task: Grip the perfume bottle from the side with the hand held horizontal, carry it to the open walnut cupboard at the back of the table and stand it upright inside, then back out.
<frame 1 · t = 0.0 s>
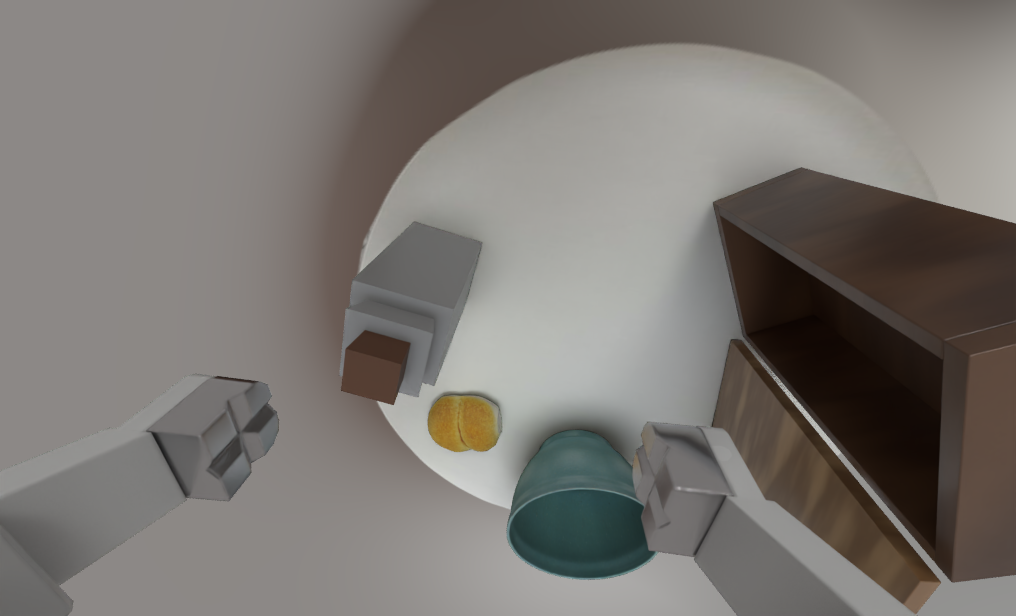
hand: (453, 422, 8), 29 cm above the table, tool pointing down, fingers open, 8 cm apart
cupboard door: (809, 485, 33), point 11 cm above the table, hinge at 160.0°
bread roll: (468, 414, 48), on the table
flower pot: (575, 453, 50), on the table
perfume bottle: (441, 262, 39), on the table
cupboard: (769, 261, 36), on the table
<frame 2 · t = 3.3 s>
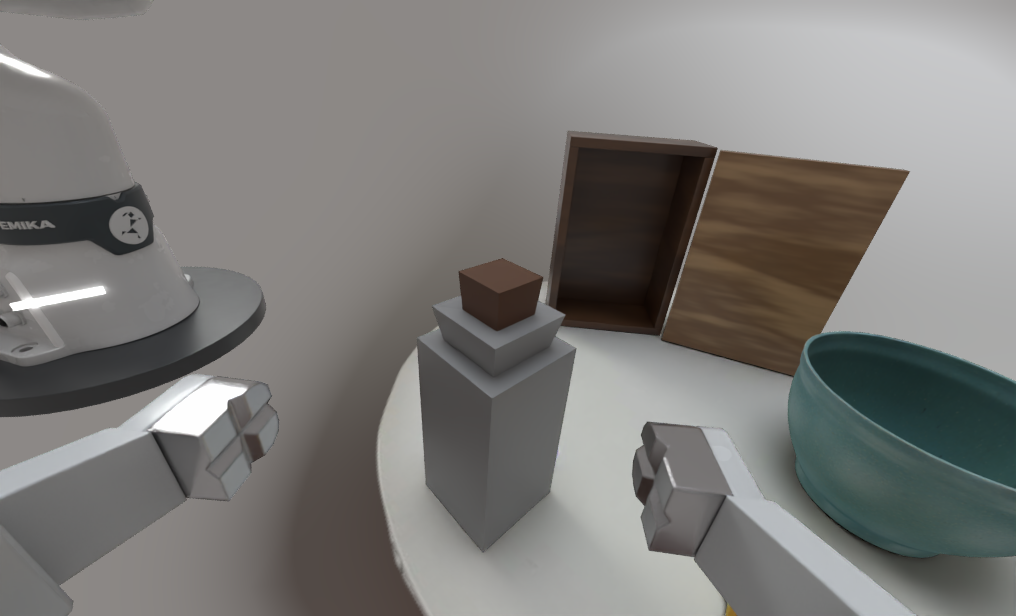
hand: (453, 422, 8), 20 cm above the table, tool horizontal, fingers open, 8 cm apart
cupboard door: (758, 262, 44), point 11 cm above the table, hinge at 160.0°
flower pot: (861, 500, 31), on the table
perfume bottle: (487, 489, 30), on the table
cupboard: (599, 316, 54), on the table
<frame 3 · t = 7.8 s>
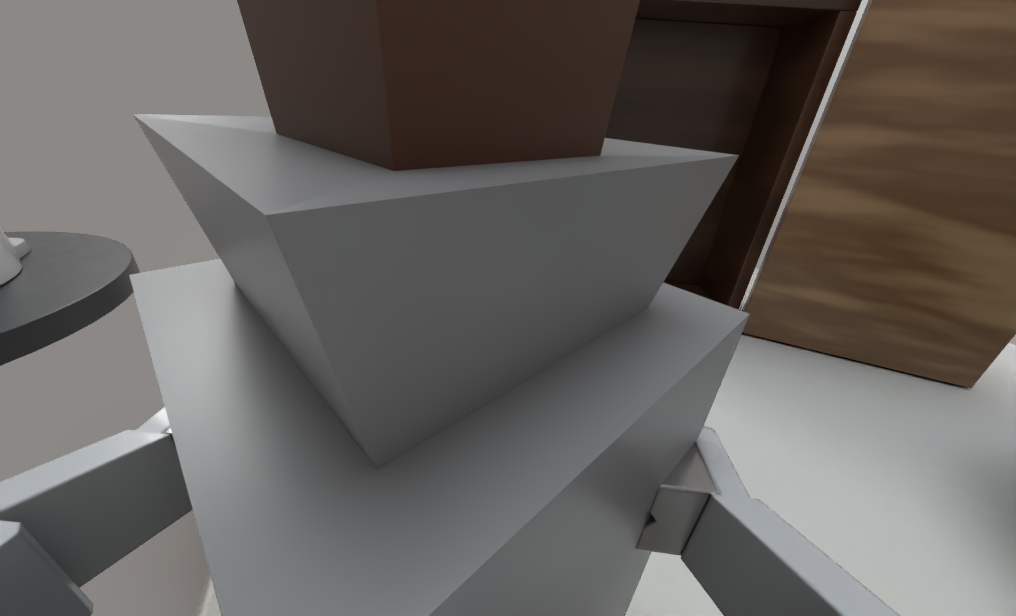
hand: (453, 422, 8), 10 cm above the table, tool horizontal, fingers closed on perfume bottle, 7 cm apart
cupboard door: (909, 202, 27), point 11 cm above the table, hinge at 160.0°
cupboard: (636, 299, 37), on the table
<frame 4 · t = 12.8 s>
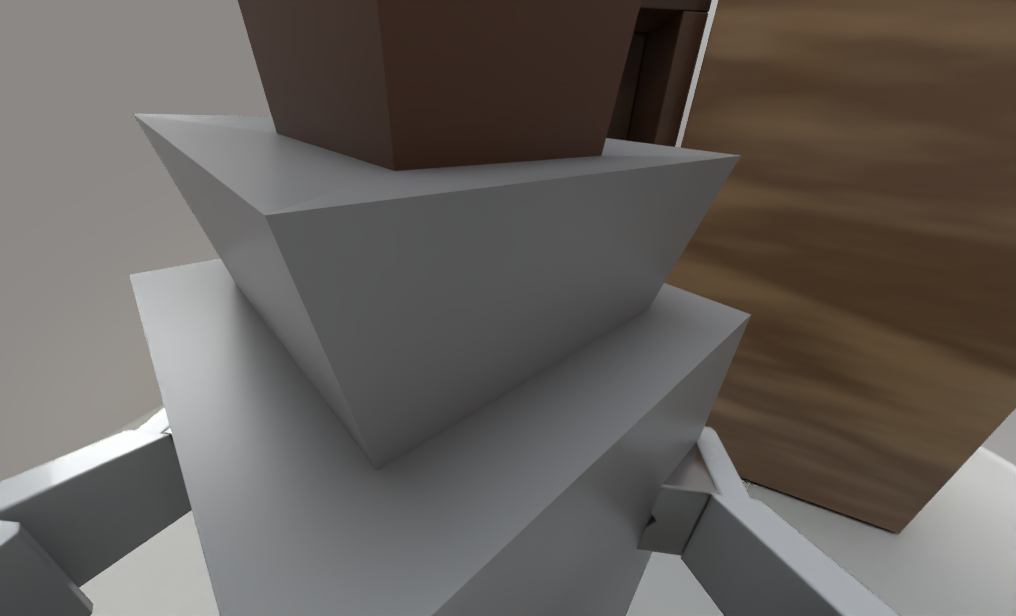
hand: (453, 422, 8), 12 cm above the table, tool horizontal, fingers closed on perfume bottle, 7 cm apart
cupboard door: (811, 278, 19), point 11 cm above the table, hinge at 160.0°
cupboard: (501, 375, 29), on the table
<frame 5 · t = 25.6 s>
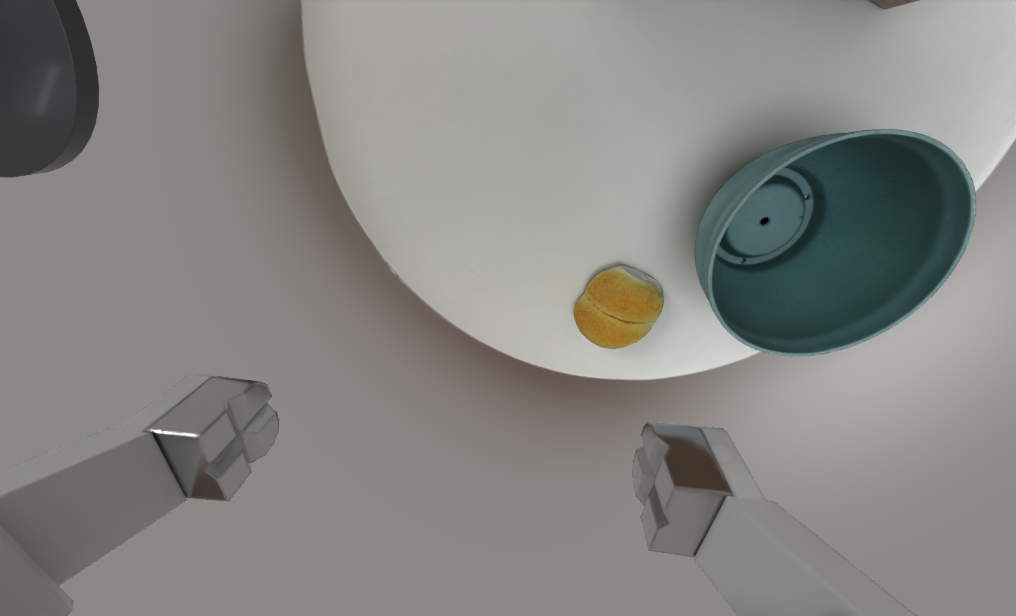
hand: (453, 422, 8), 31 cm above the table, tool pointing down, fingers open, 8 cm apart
bread roll: (615, 301, 41), on the table
flower pot: (755, 217, 36), on the table
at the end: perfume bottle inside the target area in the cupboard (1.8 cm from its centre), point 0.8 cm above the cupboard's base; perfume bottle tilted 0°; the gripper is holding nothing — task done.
